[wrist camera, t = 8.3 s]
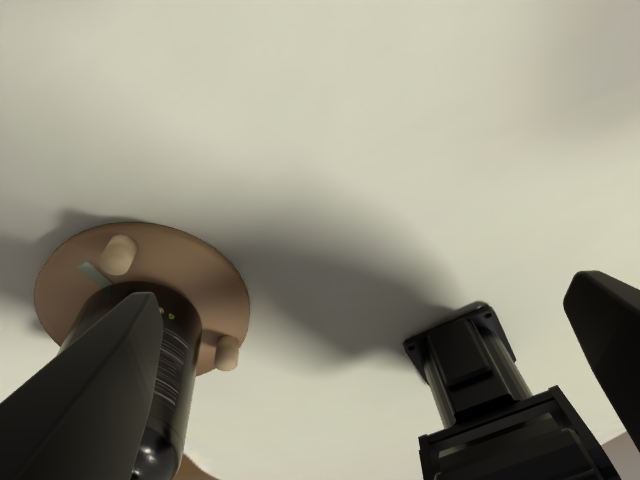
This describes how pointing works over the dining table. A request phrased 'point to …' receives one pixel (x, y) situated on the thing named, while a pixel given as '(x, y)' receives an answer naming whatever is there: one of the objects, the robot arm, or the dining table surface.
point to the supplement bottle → (172, 372)
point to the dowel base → (152, 266)
